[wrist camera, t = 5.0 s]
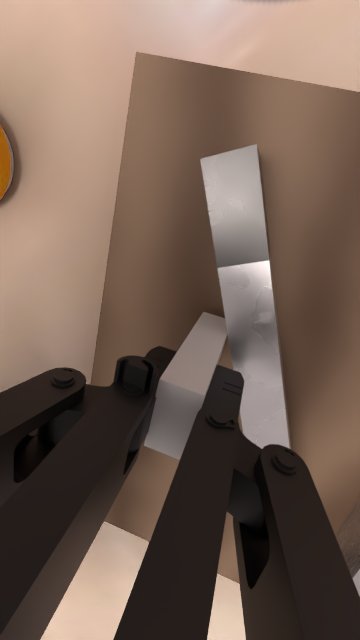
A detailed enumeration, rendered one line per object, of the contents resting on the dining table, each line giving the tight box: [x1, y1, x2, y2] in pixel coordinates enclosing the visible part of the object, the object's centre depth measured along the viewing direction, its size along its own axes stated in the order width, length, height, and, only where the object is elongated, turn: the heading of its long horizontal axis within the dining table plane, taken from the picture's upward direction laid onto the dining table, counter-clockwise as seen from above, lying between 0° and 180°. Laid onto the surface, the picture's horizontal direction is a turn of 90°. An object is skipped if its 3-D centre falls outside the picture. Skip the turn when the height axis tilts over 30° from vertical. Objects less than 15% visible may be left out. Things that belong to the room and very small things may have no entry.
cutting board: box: [91, 52, 360, 584], centre depth 19 cm, size 22×30×2 cm
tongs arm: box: [200, 144, 292, 450], centre depth 16 cm, size 24×2×3 cm, turn 11°
